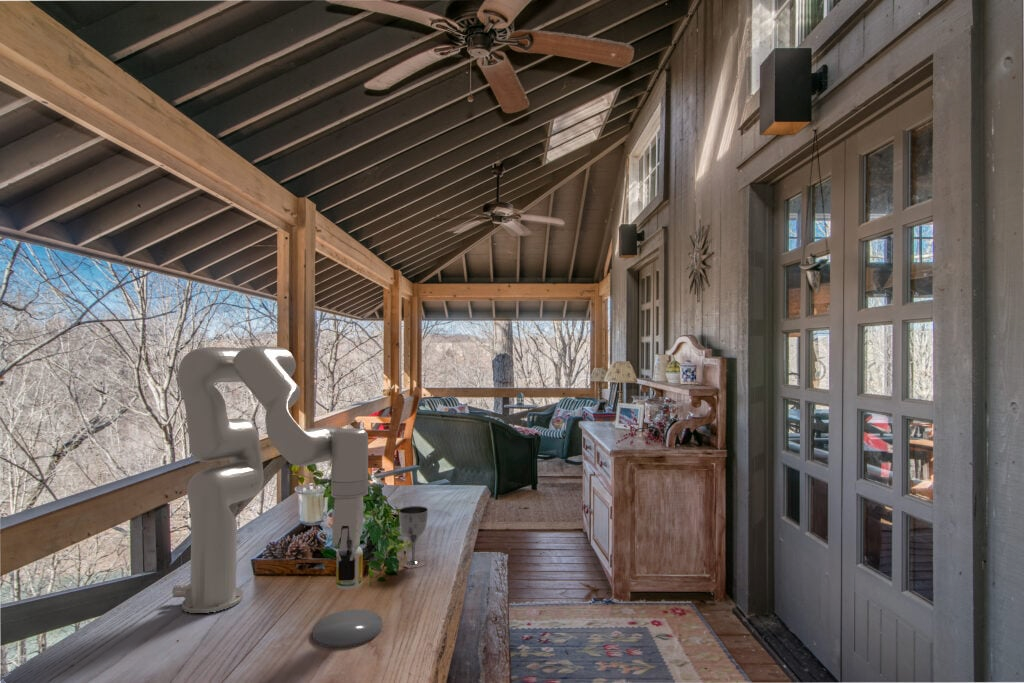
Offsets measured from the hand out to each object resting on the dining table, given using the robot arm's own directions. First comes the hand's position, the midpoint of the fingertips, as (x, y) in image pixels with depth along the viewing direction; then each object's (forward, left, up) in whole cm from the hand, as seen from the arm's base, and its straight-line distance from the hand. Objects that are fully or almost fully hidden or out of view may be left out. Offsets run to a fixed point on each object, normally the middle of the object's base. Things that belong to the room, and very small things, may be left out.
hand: (349, 573), depth 115 cm
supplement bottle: (0, 0, -3) cm, 3 cm away
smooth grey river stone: (0, 0, -12) cm, 12 cm away
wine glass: (+11, +37, -12) cm, 40 cm away
